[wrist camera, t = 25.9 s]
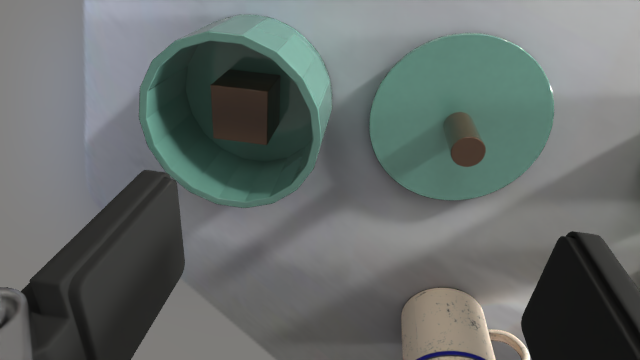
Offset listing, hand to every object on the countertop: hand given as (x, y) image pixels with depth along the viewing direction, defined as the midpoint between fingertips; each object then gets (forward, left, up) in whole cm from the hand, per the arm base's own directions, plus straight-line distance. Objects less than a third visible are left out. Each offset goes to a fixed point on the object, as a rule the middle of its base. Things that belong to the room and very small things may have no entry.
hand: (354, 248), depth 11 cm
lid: (+6, +8, -26) cm, 27 cm away
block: (+6, -10, -26) cm, 28 cm away
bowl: (+6, -10, -26) cm, 28 cm away
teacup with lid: (+28, +12, -26) cm, 40 cm away
